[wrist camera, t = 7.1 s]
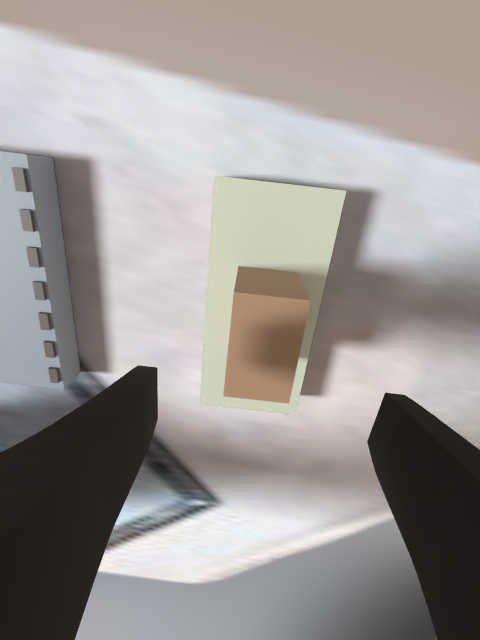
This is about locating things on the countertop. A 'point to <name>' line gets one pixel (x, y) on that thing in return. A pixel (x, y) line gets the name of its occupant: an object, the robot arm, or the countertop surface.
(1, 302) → the board
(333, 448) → the countertop surface
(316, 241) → the stub
